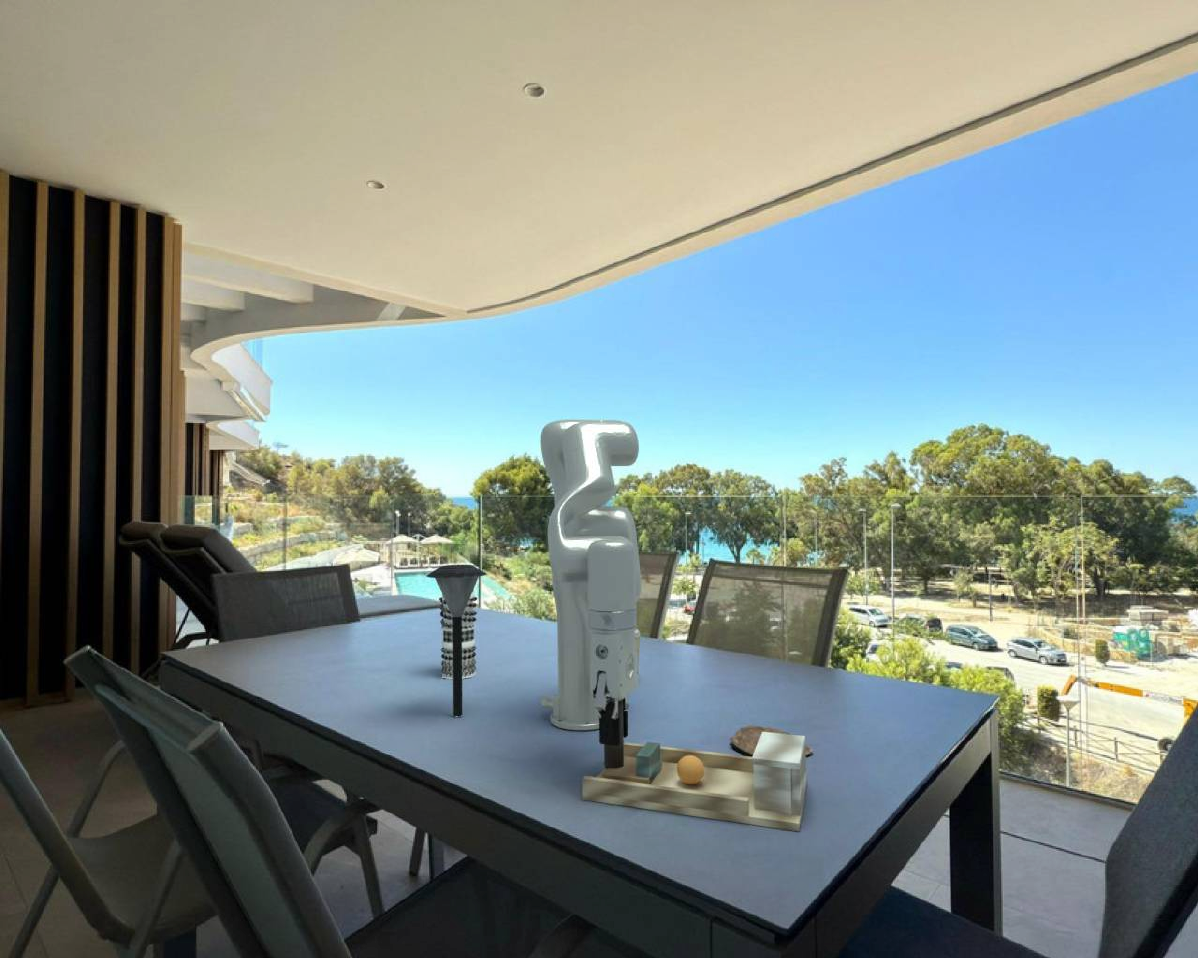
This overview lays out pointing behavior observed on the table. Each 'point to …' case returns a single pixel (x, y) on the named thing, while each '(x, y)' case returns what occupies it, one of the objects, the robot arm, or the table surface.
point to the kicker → (631, 759)
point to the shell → (753, 739)
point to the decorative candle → (467, 639)
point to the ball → (690, 769)
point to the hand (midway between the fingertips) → (613, 738)
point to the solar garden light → (457, 614)
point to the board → (720, 784)
